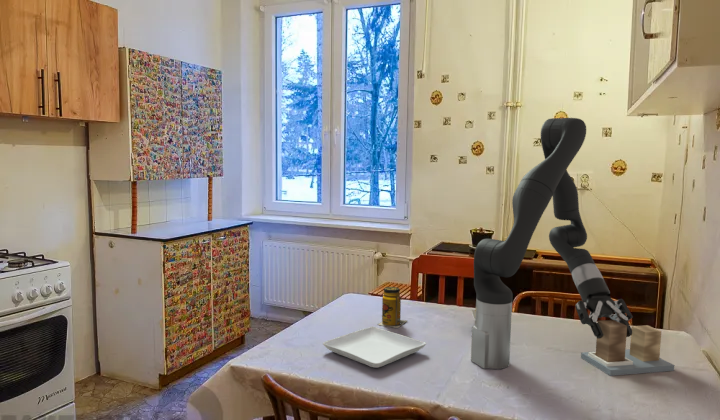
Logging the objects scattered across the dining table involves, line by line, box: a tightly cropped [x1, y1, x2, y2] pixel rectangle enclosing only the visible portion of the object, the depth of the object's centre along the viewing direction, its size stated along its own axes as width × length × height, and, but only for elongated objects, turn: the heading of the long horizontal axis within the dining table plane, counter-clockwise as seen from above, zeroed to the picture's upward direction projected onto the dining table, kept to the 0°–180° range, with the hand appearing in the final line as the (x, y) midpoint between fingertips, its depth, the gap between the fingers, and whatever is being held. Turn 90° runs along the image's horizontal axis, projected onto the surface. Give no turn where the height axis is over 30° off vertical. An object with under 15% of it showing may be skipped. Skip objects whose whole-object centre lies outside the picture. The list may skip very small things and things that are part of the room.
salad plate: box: [322, 326, 427, 368], centre depth 143 cm, size 21×21×3 cm
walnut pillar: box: [595, 319, 627, 362], centre depth 136 cm, size 5×5×10 cm
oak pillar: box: [629, 324, 662, 362], centre depth 139 cm, size 5×5×8 cm
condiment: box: [377, 286, 408, 329], centre depth 169 cm, size 7×8×12 cm
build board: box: [580, 348, 676, 377], centre depth 138 cm, size 19×12×2 cm, turn 101°
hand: (615, 336), depth 135 cm, fingers open, 8 cm apart
